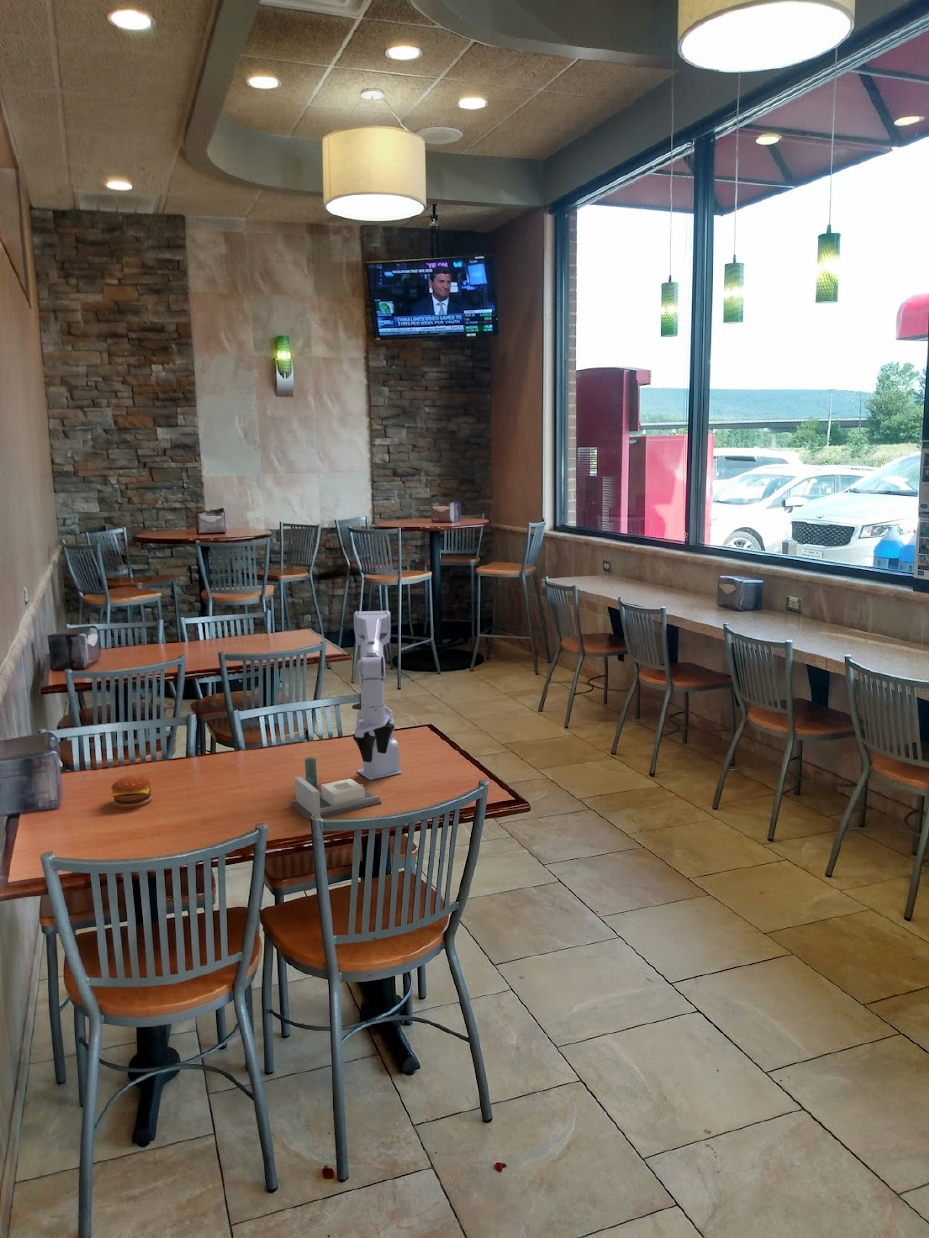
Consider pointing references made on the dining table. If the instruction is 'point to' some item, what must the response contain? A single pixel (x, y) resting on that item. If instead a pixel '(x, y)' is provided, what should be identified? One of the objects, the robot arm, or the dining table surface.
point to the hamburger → (131, 792)
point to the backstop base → (313, 803)
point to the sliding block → (342, 792)
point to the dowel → (311, 771)
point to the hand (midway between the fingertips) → (374, 757)
